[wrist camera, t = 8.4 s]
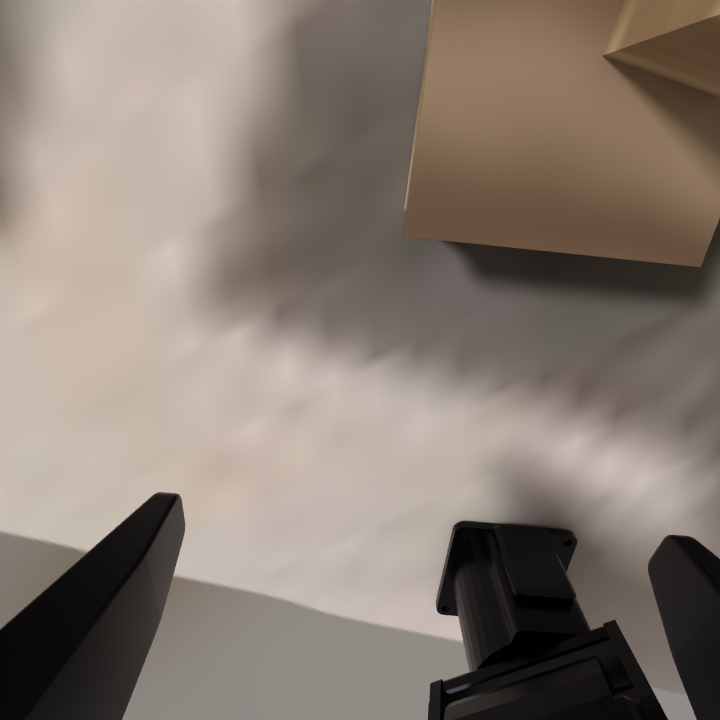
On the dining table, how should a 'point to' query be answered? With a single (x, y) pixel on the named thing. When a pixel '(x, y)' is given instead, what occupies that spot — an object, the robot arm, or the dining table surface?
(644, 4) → the teal long block
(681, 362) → the dining table surface
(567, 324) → the dining table surface
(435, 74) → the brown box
